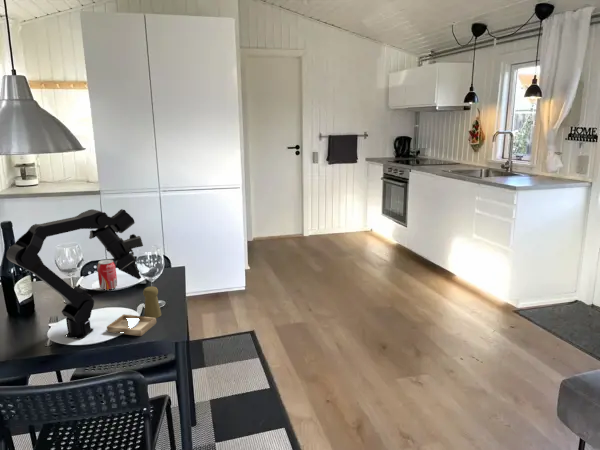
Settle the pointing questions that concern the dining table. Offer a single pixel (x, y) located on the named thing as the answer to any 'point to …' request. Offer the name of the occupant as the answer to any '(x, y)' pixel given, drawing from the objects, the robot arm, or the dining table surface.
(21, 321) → the dining table surface
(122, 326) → the tray
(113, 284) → the soda can
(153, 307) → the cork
